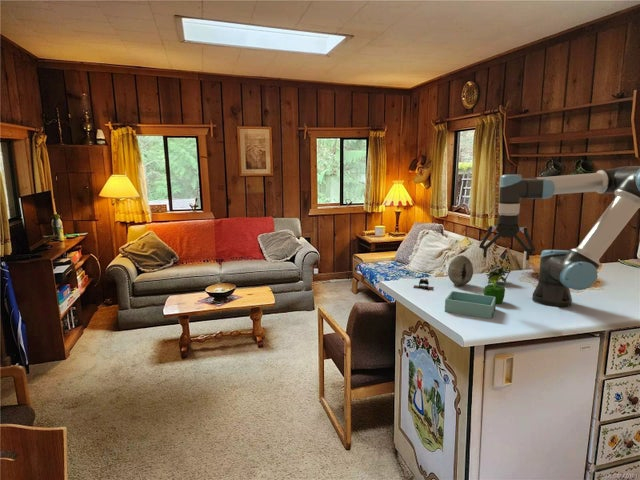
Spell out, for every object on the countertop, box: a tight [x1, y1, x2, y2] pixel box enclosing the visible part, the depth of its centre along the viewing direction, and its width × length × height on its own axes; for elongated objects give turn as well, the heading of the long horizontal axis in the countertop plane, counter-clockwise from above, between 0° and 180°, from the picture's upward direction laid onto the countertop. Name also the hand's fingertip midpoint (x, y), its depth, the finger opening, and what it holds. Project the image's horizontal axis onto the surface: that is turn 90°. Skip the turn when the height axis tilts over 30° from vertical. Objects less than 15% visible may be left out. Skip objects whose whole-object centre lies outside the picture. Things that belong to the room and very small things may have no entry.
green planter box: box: [444, 290, 496, 320], centre depth 165 cm, size 18×13×5 cm
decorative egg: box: [447, 254, 474, 286], centre depth 204 cm, size 12×12×15 cm
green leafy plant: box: [485, 264, 512, 286], centre depth 208 cm, size 11×11×12 cm
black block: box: [413, 278, 435, 291], centre depth 200 cm, size 12×7×5 cm, turn 72°
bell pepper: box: [483, 280, 506, 305], centre depth 176 cm, size 8×8×10 cm
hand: (505, 267), depth 166 cm, fingers open, 13 cm apart
